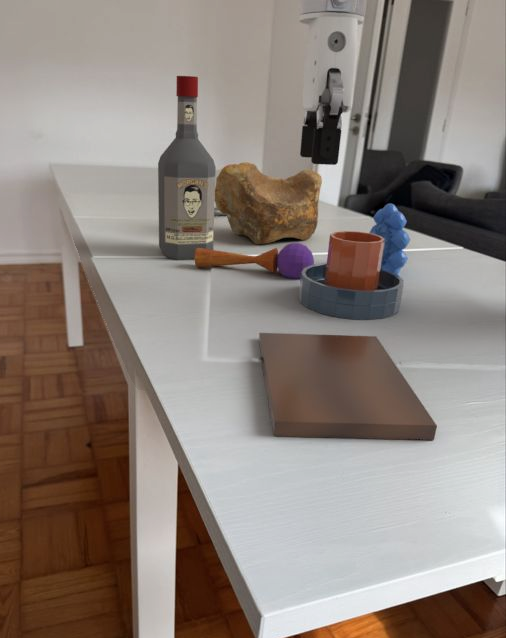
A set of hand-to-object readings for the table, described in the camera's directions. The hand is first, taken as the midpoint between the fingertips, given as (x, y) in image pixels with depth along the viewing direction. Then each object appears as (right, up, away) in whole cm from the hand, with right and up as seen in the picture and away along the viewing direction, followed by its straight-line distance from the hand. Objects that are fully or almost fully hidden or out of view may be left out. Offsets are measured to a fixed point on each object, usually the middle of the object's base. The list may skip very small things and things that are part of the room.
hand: (317, 160), depth 72 cm
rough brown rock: (-3, -1, +46) cm, 46 cm away
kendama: (-8, -12, +21) cm, 25 cm away
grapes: (+14, -12, +24) cm, 30 cm away
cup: (+6, -18, +8) cm, 20 cm away
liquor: (-20, -7, +32) cm, 38 cm away
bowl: (+6, -18, +8) cm, 21 cm away
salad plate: (-17, +13, +76) cm, 78 cm away
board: (-1, -28, -15) cm, 32 cm away
